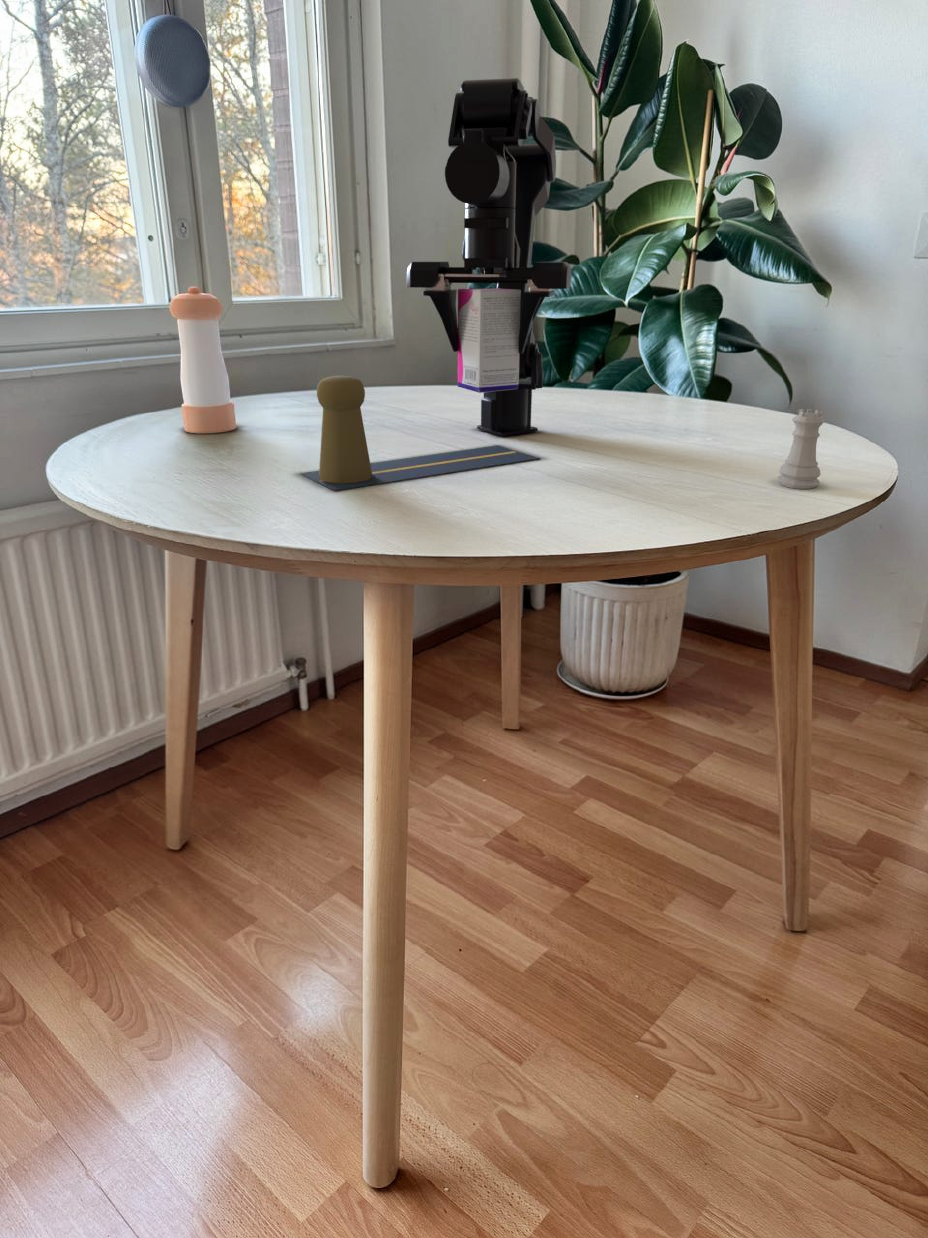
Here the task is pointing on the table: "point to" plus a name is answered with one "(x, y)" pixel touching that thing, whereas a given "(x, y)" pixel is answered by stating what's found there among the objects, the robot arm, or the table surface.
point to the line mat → (431, 466)
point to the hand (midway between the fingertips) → (488, 352)
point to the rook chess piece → (803, 452)
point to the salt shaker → (202, 364)
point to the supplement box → (488, 339)
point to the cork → (343, 431)
